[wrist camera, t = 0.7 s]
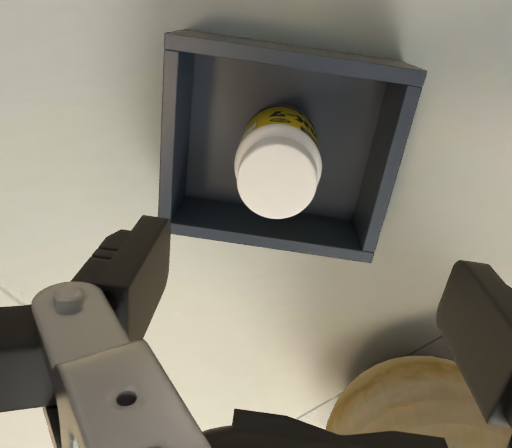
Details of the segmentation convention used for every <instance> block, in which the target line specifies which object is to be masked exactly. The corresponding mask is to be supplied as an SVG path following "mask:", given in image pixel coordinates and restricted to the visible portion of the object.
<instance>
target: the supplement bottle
mask: <svg viewBox="0 0 512 448" xmlns="http://www.w3.org/2000/svg"><path fill="white" fill-rule="evenodd" d="M234 169H235V176H236V179H237V188H238V192H239V195H240V197H241V199H242V200H243V202H244V203H245V204H246V206H247V207H248V208H249V209H250V210H252V211H253V212H255V213H256V214H258V215H260V216H263V217H266V218H271V219H283V218H288V217H291V216H294V215H296V214H298V213H300V212H301V211H302V210H304V209H305V208H306V207H307V206H308V205H309V203H310V202H311V201H312V199H313V197H314V195H315V192H316V188H317V185H318V183H319V180H320V177H321V172H322V159H321V154H320V150H319V145H318V141H317V137H316V132H315V129H314V127H313V124H312V123H311V121H310V119H309V118H308V117H307V116H306V115H305V114H304V113H303V112H301V111H300V110H298V109H296V108H294V107H291V106H287V105H272V106H269V107H266V108H264V109H262V110H260V111H259V112H257V113H256V114H255V115H254V116H253V117H252V118H251V120H250V121H249V123H248V125H247V127H246V129H245V132H244V134H243V137H242V139H241V142H240V144H239V147H238V149H237V152H236V155H235V162H234Z"/></svg>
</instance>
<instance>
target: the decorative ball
mask: <svg viewBox="0 0 512 448" xmlns="http://www.w3.org/2000/svg"><path fill="white" fill-rule="evenodd" d="M326 430H327V431H330V432H333V433H335V434H339V435H353V434H363V433H374V432H384V431H399V432H407V433H414V434H421V435H428V436H436V437H443V438H445V440H446V443H447V445H448V448H505V445H506V443H507V441H508V439H509V437H510V435H511V433H512V429H511V428H510V427H503V426H496V425H488V424H487V423H486V421H485V419H484V417H483V415H482V413H481V411H480V409H479V407H478V405H477V404H476V402H475V400H474V398H473V396H472V394H471V392H470V390H469V388H468V386H467V384H466V382H465V380H464V378H463V376H462V374H461V372H460V370H459V368H458V366H457V364H456V362H453V361H451V360H448V359H443V358H438V357H433V356H404V357H398V358H392V359H389V360H387V361H384V362H381V363H378V364H376V365H374V366H373V367H371V368H369V369H368V370H366V371H364V372H363V373H361V374H360V375H359V376H358V377H356V378H355V379H354V380H353V381H352V382H351V383H350V384H348V386H347V387H346V388H345V390H344V391H343V392H342V394H341V395H340V396H339V398H338V400H337V402H336V404H335V406H334V408H333V410H332V413H331V415H330V417H329V419H328V422H327V426H326Z"/></svg>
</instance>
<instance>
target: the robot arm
mask: <svg viewBox="0 0 512 448" xmlns="http://www.w3.org/2000/svg"><path fill="white" fill-rule="evenodd" d="M170 236H171V221H170V219H167V218H160V217H153V216H146V215H143V216H142V217H141V218H140V220H139V221H138V222H137V224H136V225H135V226H134V228H133V229H132V231H128V230H119V231H117V232H115V233H113V234H111V235H110V236H108V237H106V238H105V240H104V241H103V242H102V243H101V245H100V246H99V248H98V249H97V250H96V251H95V252H94V253H93V254H92V257H90V258H89V259H88V261H87V262H86V263H85V264H84V266H83V267H82V268H81V269H80V271H79V272H78V273H77V274H76V275H75V277H74V278H73V279H72V280H71V282H63V283H59V284H55V285H52V286H49V287H47V288H45V289H43V290H42V291H40V292H39V293H38V294H37V295H36V296H35V297H34V298H33V300H32V304H31V305H24V306H12V307H0V412H6V411H14V410H21V409H29V408H36V407H43V411H44V414H45V418H46V421H47V425H48V428H49V432H50V436H51V439H52V443H53V446H54V448H448V445H447V443H446V440H445V438H443V437H436V436H428V435H421V434H414V433H407V432H399V431H384V432H374V433H363V434H353V435H339V434H335V433H333V432H330V431H327V430H324V429H321V428H319V427H316V426H313V425H310V424H308V423H305V422H302V421H299V420H296V419H294V418H291V417H288V416H284V415H277V414H269V413H262V412H255V411H248V410H240V409H234V416H233V422H232V426H223V427H218V428H213V429H209V430H206V431H203V432H202V431H201V429H200V428H199V426H198V425H197V423H196V421H195V420H194V418H193V416H192V415H191V413H190V412H189V410H188V408H187V407H186V405H185V403H184V402H183V400H182V398H181V397H180V395H179V394H178V392H177V390H176V389H175V387H174V385H173V384H172V382H171V381H170V379H169V377H168V376H167V374H166V372H165V371H164V369H163V368H162V366H161V364H160V363H159V361H158V359H157V358H156V356H155V354H154V353H153V351H152V350H151V348H150V346H149V345H148V343H147V342H146V341H145V340H144V339H143V337H144V335H145V333H146V330H147V328H148V326H149V324H150V321H151V319H152V317H153V315H154V312H155V310H156V308H157V305H158V303H159V301H160V299H161V296H162V294H163V292H164V289H165V286H166V283H167V278H168V272H169V256H170ZM437 325H438V328H439V330H440V332H441V334H442V336H443V338H444V340H445V342H446V344H447V346H448V348H449V350H450V352H451V354H452V356H453V358H454V360H455V362H456V364H457V366H458V368H459V370H460V372H461V374H462V376H463V378H464V380H465V382H466V384H467V386H468V388H469V390H470V392H471V394H472V396H473V398H474V400H475V402H476V404H477V405H478V407H479V409H480V411H481V413H482V415H483V417H484V419H485V421H486V423H487V424H488V425H496V426H503V427H510V428H511V429H512V288H511V287H509V286H508V285H506V284H505V283H504V282H503V280H502V279H501V278H500V277H499V276H498V275H497V273H496V272H495V271H494V270H493V269H492V267H491V266H490V265H488V264H484V263H477V262H470V261H463V260H459V261H457V262H456V263H455V264H454V266H453V268H452V271H451V273H450V276H449V279H448V281H447V284H446V287H445V290H444V292H443V295H442V298H441V300H440V303H439V306H438V310H437ZM505 448H512V433H511V435H510V437H509V439H508V441H507V443H506V445H505Z"/></svg>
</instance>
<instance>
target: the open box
mask: <svg viewBox="0 0 512 448" xmlns="http://www.w3.org/2000/svg"><path fill="white" fill-rule="evenodd" d="M164 49H165V50H164V68H163V96H162V123H161V151H160V179H159V206H158V217H160V218H167V219H170V221H171V234H176V235H183V236H189V237H196V238H203V239H210V240H217V241H224V242H230V243H237V244H244V245H251V246H258V247H265V248H271V249H278V250H285V251H292V252H299V253H305V254H312V255H319V256H326V257H333V258H340V259H346V260H353V261H360V262H367V263H371V262H372V259H373V256H374V252H375V249H376V246H377V242H378V239H379V235H380V232H381V228H382V225H383V221H384V218H385V215H386V211H387V208H388V204H389V201H390V197H391V194H392V190H393V187H394V183H395V180H396V177H397V173H398V170H399V166H400V163H401V159H402V156H403V152H404V149H405V145H406V142H407V139H408V135H409V132H410V128H411V125H412V121H413V118H414V114H415V111H416V107H417V104H418V101H419V97H420V94H421V90H422V86H423V84H424V80H425V77H426V73H427V71H425V70H423V69H421V68H418V67H416V66H413V65H411V64H409V63H406V62H404V61H398V60H391V59H384V58H377V57H370V56H363V55H357V54H350V53H343V52H336V51H329V50H323V49H316V48H309V47H302V46H295V45H288V44H282V43H275V42H268V41H261V40H254V39H248V38H241V37H234V36H227V35H220V34H213V33H207V32H200V31H193V30H186V29H185V30H179V31H173V32H167V33H165V38H164ZM272 105H287V106H291V107H294V108H296V109H298V110H300V111H301V112H303V113H304V114H305V115H306V116H307V117H308V118H309V119H310V121H311V123H312V124H313V127H314V129H315V132H316V137H317V141H318V145H319V150H320V154H321V159H322V172H321V177H320V180H319V183H318V185H317V188H316V192H315V195H314V197H313V199H312V201H311V202H310V203H309V205H308V206H307V207H306V208H305V209H304V210H302V211H301V212H300V213H298V214H296V215H294V216H291V217H288V218H283V219H271V218H266V217H263V216H260V215H258V214H256V213H255V212H253V211H252V210H250V209H249V208H248V207H247V206H246V204H245V203H244V202H243V200H242V199H241V197H240V195H239V192H238V188H237V179H236V176H235V169H234V162H235V155H236V152H237V149H238V147H239V144H240V142H241V139H242V137H243V134H244V132H245V129H246V127H247V125H248V123H249V121H250V120H251V118H252V117H253V116H254V115H255V114H256V113H257V112H259V111H260V110H262V109H264V108H266V107H269V106H272Z"/></svg>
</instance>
